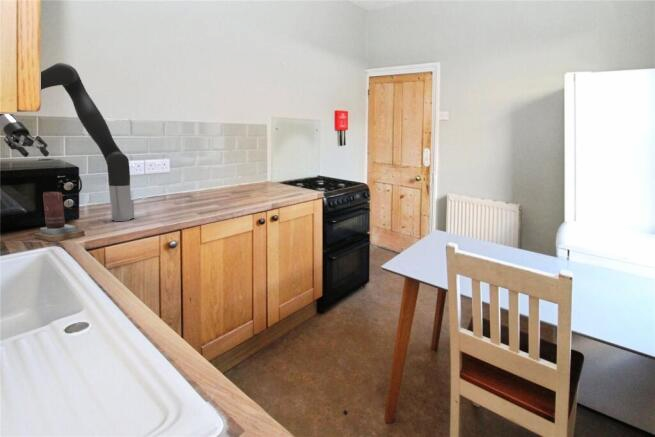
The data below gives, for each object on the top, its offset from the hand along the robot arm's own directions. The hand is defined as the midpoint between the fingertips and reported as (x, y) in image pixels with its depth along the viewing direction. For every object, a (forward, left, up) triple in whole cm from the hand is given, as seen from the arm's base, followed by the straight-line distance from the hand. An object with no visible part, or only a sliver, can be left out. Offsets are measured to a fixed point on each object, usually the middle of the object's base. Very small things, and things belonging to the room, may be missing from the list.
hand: (37, 155), depth 158 cm
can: (+6, +19, -28) cm, 34 cm away
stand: (+6, +20, -32) cm, 38 cm away
